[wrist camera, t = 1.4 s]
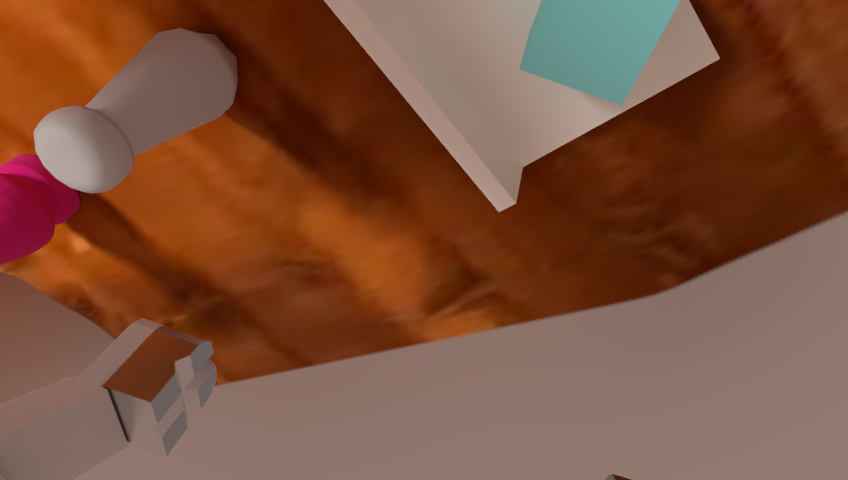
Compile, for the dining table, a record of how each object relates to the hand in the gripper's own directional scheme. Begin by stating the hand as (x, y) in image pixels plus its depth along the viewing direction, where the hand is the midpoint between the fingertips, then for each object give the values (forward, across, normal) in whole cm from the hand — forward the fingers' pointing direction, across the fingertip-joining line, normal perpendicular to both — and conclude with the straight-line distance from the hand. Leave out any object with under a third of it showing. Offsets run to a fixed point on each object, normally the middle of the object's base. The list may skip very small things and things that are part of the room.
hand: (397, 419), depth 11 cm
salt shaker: (+24, +20, +5) cm, 32 cm away
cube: (+24, -2, -3) cm, 24 cm away
